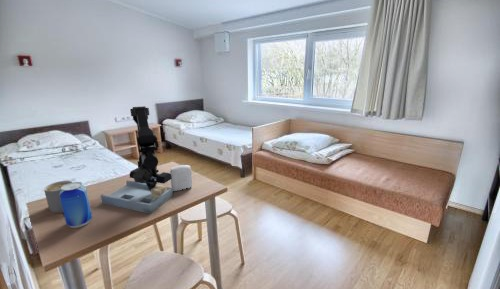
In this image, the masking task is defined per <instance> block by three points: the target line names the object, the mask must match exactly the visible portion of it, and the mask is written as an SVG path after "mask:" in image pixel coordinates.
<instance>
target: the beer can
mask: <svg viewBox="0 0 500 289" xmlns="http://www.w3.org/2000/svg"><path fill="white" fill-rule="evenodd" d="M71 182H72V183H68V184H66V185H64V186H62V187H61V191H60V194H59V195H60V200H61V204H62V208H63V212H62V213H63V215H64V220H65V224H66V226H68V227H69V228H71V229H78V228H81V227H84V226H86V225H88V224H89V223H90V222H91V220H92V218H93V215H92V210H91V205H90V200H89V195H88V191H87V188H86V186H84V185H83V183H82V182H79V181H71Z"/></svg>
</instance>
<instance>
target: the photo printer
mask: <svg viewBox="0 0 500 289" xmlns="http://www.w3.org/2000/svg"><path fill="white" fill-rule="evenodd" d="M169 173H170V174H171V178H172V179H170V185H171V186H170V188H172V190H173V192H176V191H182V189H183V190H187V189H186V188H188V189H191V188H190V187H192V188H193V176H192V168H191V165H187V164H180V165H176V166H173V167H171V168H170V172H169Z"/></svg>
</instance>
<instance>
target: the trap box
mask: <svg viewBox="0 0 500 289" xmlns="http://www.w3.org/2000/svg"><path fill="white" fill-rule="evenodd" d="M125 184H126V185H124V186H122V187H120V188H118V189H117V190H115V191H113V192H112V193H109V194H108V195H107V194H101V195H100V198H101V199H100V200H101V203H102V204H104V205H109V206H113V207H118V208H122V209H128V210H132V211H136V212H141V213H146V214H152V213H153V212H155V211H156V210H158V208H160V207H161V206H162V205H163V204H165V203H166V202H167V201H168V200H170V199H171V198H173V196H174V193H173V192H174V191H173V190H172V188H171V187H169V186H167V191H166V192H164V193H163V194H162V195H160V196H159V197H157V198H152V196H151V192H150V190H149V188H148V186H147V185H146V183H139V182H135V180H134V181H133V180H126V183H125ZM157 185H158V184H156V186H157Z"/></svg>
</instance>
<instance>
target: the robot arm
mask: <svg viewBox="0 0 500 289" xmlns="http://www.w3.org/2000/svg"><path fill="white" fill-rule="evenodd" d="M130 116H131V117H132V120H133V122H134V123H135V124H136V127H137V137H136V145H137V149H138V150H137V151H138V153H139V155H138V161H137V167H136V168H134V169H132V170H130V172H129V178H131V179H133V180H134V182H139V183H145V184H146V185H147V186H148V188H149V190H150V192H151V189H152V188H154V187H155V186H156V185H158V183H159V184H161V185H162V184H166V183H168V181H171V179H172V178H171V174H170V172H165V171H163V172H161V173H159V169H157V168H158V164H159V159H158V157H157V155H156V151H158V150H159V146H160V145H159V141H158V138H157V136H156V135H155V134H154V131H153V130H152V128H150V126H149V122H148V119H149V116H150V109H149V107H146V106H132V108H130Z"/></svg>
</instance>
